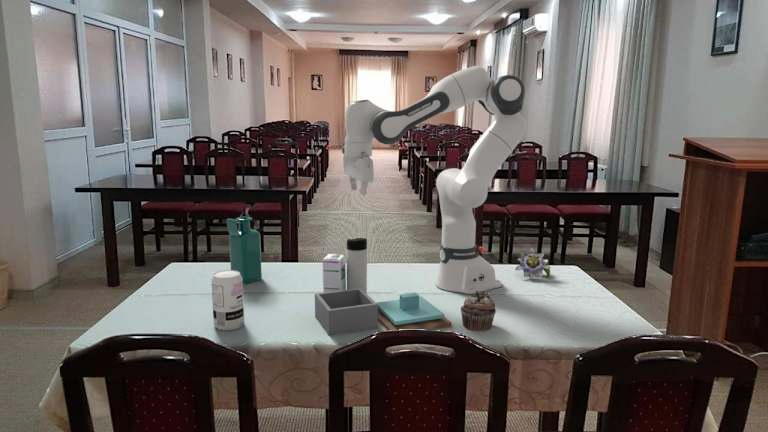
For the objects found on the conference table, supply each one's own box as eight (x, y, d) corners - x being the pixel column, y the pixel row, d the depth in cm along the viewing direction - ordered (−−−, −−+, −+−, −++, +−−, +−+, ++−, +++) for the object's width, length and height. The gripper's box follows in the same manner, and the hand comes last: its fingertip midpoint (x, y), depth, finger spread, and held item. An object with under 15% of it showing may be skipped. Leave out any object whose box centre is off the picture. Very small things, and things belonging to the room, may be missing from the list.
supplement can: (217, 320, 164) (214, 269, 161) (246, 319, 165) (244, 269, 161) (211, 331, 156) (208, 279, 153) (242, 331, 157) (239, 278, 153)
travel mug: (352, 304, 177) (352, 241, 173) (343, 297, 183) (343, 236, 178) (370, 301, 180) (370, 239, 175) (361, 294, 185) (361, 234, 181)
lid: (421, 302, 176) (421, 284, 174) (444, 320, 162) (445, 300, 161) (375, 309, 170) (375, 289, 169) (395, 328, 157) (395, 307, 155)
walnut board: (423, 304, 178) (423, 300, 177) (451, 326, 161) (451, 322, 161) (369, 311, 171) (369, 307, 171) (392, 335, 155) (392, 331, 155)
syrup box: (341, 305, 176) (341, 259, 173) (322, 303, 177) (322, 258, 174) (346, 298, 182) (346, 254, 179) (328, 297, 183) (327, 253, 180)
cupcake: (490, 318, 167) (492, 286, 165) (497, 332, 158) (499, 298, 155) (457, 318, 167) (458, 286, 165) (463, 332, 157) (464, 298, 155)
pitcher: (247, 273, 205) (245, 213, 200) (264, 278, 200) (262, 216, 195) (225, 280, 197) (222, 218, 192) (242, 285, 192) (239, 221, 187)
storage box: (360, 310, 172) (360, 288, 171) (377, 328, 160) (377, 304, 158) (315, 316, 167) (314, 293, 166) (328, 335, 154) (328, 310, 153)
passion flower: (530, 293, 204) (514, 269, 199) (523, 278, 213) (507, 254, 209) (559, 278, 201) (543, 252, 197) (550, 263, 211) (535, 239, 207)
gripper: (379, 153, 180) (378, 197, 183) (357, 147, 198) (357, 186, 201) (359, 154, 177) (359, 198, 180) (340, 147, 196) (340, 187, 199)
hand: (358, 192), depth 191 cm, fingers open, 8 cm apart
